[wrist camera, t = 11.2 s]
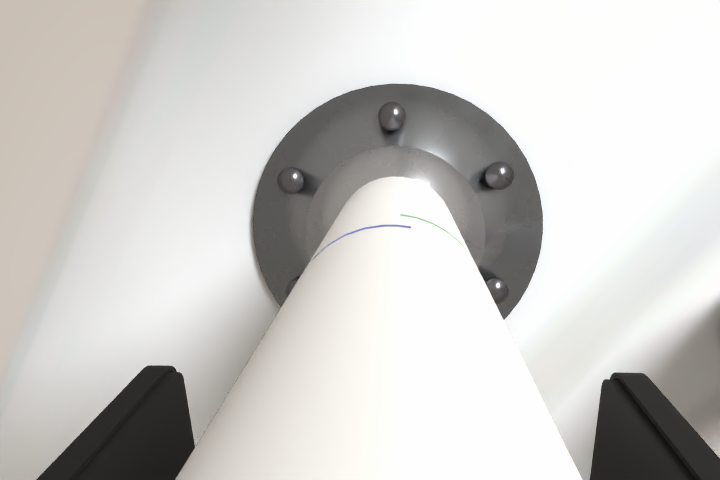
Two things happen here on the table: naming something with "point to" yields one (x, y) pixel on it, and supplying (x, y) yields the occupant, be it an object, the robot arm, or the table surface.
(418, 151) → the flange
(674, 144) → the table surface
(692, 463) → the robot arm
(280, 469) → the cylindrical container
